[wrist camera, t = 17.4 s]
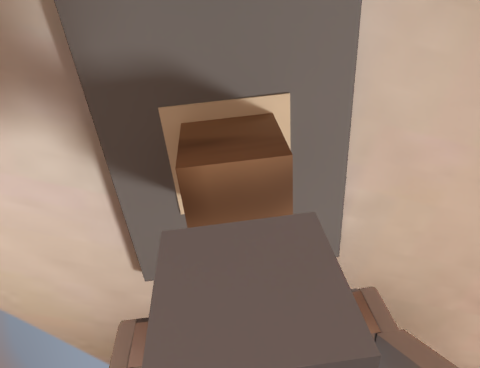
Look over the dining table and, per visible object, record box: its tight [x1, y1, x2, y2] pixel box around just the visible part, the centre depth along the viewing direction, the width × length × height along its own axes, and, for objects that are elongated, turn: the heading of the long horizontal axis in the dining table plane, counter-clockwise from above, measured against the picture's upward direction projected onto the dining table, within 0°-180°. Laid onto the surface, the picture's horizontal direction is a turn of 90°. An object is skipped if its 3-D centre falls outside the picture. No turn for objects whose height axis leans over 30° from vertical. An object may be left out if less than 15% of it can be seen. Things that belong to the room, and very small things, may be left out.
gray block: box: [142, 212, 381, 368], centre depth 11 cm, size 5×5×5 cm
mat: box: [54, 0, 362, 281], centre depth 21 cm, size 18×14×1 cm
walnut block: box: [175, 113, 293, 228], centre depth 18 cm, size 5×5×5 cm
